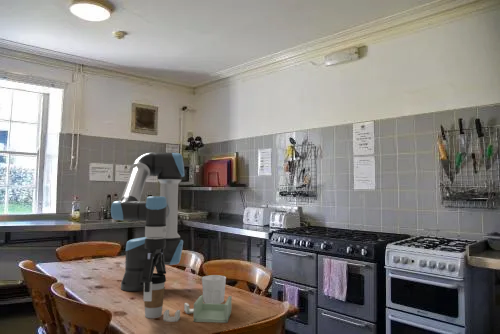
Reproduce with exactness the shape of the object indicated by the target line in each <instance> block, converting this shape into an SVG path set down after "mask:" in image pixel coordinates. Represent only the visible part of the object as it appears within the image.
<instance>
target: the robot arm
mask: <svg viewBox="0 0 500 334" xmlns="http://www.w3.org/2000/svg"><path fill="white" fill-rule="evenodd" d="M184 163H185V162H184V157H183V155H182V154H181V153H179V152H154V151H153V152H152V151H151V152H147V153H143V154H142V155H139V156H138V157H137V158H136V159H135V160H134V161H133V162H132V163H131V165H130V167H129V171H128V172H129V176H128V179H127V182H126V185H125V186H124V190H123V192H122V195H121V198H120V199H119V200H114V201H113V202H112V203H111V207H110V215H111V218H112V220H114V221H122V222H123V221H145V227H144V236H143V237H137V238H132V239H129V240H128V241H126V244H125V263H124V264H125V265H124V267H125V269H124V270H125V271H124V273H123V277H122V280H121V283H120V289H121V290H122V291H126V292H140V291H142V292H143V298H142V299H143V300H142V301H143V302H144V301H152V282H151V280H152V276H153V273H155V271H156V273H160V274H165V275H166V274H167V268H166V265H167V266H173V265H178V264H179V263H180V262H181V258H182V253H183V248H184V247H183V245H184V240H183V239H181V235H180V234H179V233H178V215H179V214H178V212H179V211H178V209H179V208H178V207H179V206H178V205H179V184H180V183H181V182H182V180H183V179H182V178H184V177H185V176H186V175H185V164H184ZM150 177H156V179H157V181H158V183H159V184H160V185H159V187H160V189H159V193H160V194H159V196H147V197H146V200H145V201H144V200H143V201H142V200H141V199H142V195H143V191H144V188H145V185H146V182H147V180H148V179H149V178H150ZM143 282H144V283H143ZM143 288H144V290H143Z"/></svg>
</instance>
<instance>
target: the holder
mask: <svg viewBox="0 0 500 334" xmlns="http://www.w3.org/2000/svg"><path fill="white" fill-rule="evenodd" d="M232 300H233V299H232V295H228V297H227V299H226V301H225V302H224V303H221V304H211V303H205V302H203V294H202V295H200V296H198V297H197V299H196V300H195V301H194V302H195V303H193V308H194V313H192V314H193V319H192V321H193V322H194V323H195V322H196V323H198V322H199V323H221V324H222V323H225V324H226V323H227V324H228V323H229V319H230V316H231V314H232V303H233V302H232Z"/></svg>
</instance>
